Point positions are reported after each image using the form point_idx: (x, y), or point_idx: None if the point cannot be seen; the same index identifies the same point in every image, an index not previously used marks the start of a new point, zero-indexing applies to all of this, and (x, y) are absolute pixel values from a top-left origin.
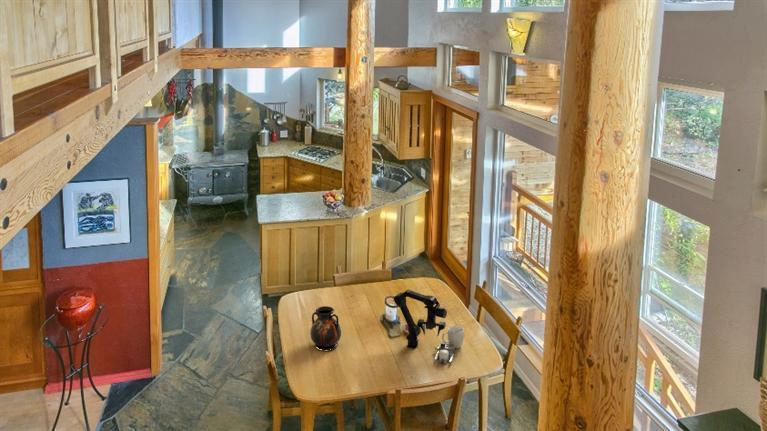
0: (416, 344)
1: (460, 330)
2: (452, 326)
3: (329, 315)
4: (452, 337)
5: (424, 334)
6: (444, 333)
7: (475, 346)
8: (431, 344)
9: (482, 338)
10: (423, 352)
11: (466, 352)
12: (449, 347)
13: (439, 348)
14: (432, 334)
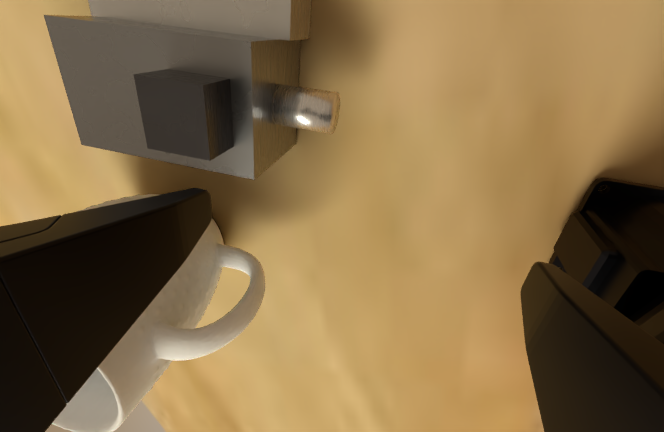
0: (595, 223)
1: None
2: (102, 425)
3: None
4: None
5: (548, 266)
6: (199, 331)
7: None
8: (393, 259)
9: None
10: (497, 81)
11: (74, 133)
12: (105, 57)
13: (247, 38)
14: (388, 390)
